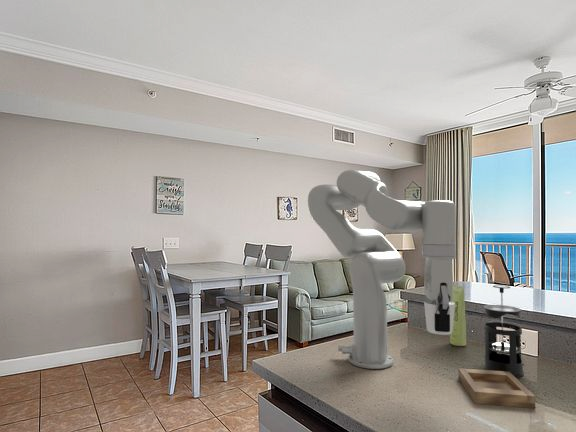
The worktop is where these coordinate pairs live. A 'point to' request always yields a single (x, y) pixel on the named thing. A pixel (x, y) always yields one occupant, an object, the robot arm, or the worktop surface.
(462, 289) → the tube
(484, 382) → the tray
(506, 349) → the french press
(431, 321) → the white tapered cylinder
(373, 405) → the worktop surface
